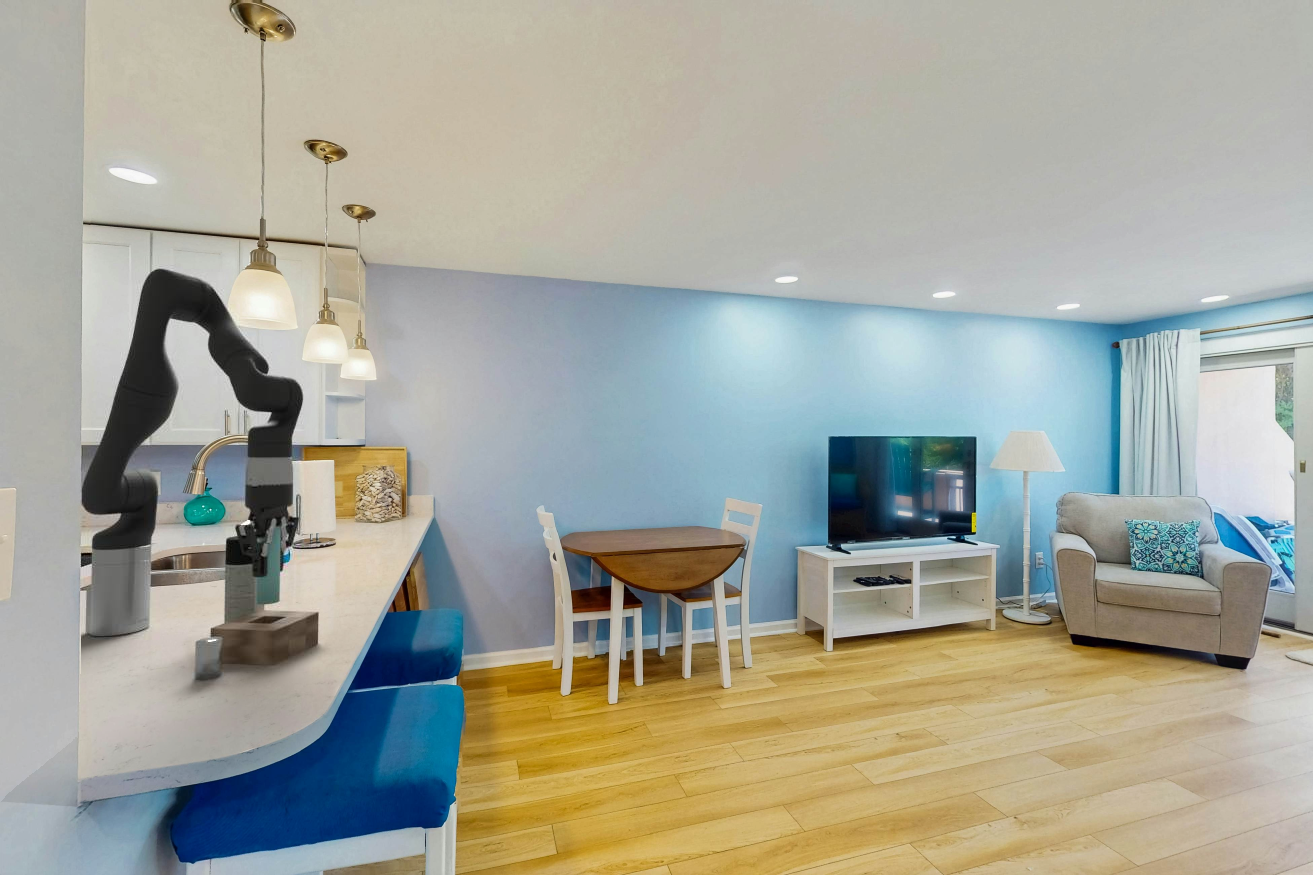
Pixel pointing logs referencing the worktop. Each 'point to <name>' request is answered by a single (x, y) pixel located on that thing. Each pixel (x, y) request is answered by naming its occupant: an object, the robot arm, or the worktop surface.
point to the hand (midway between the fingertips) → (268, 573)
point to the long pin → (270, 572)
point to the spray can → (239, 582)
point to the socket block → (267, 636)
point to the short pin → (208, 658)
